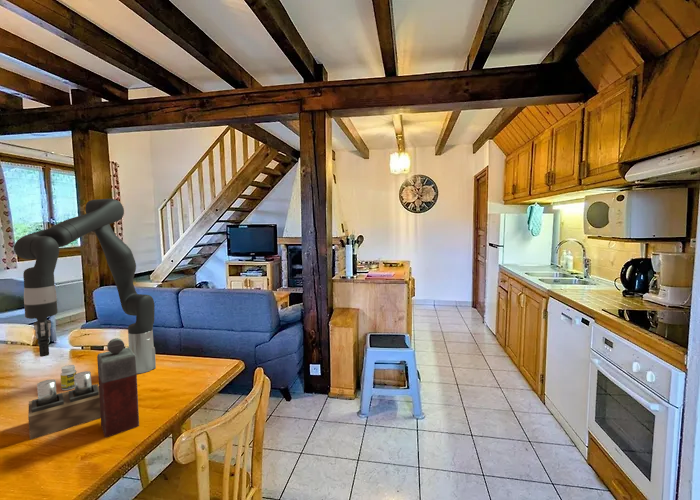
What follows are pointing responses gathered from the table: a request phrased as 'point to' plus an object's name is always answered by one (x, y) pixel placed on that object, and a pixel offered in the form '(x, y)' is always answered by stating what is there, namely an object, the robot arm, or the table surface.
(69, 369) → the supplement bottle
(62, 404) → the brown wooden block
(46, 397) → the peg
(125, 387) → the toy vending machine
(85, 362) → the table surface
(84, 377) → the peg
